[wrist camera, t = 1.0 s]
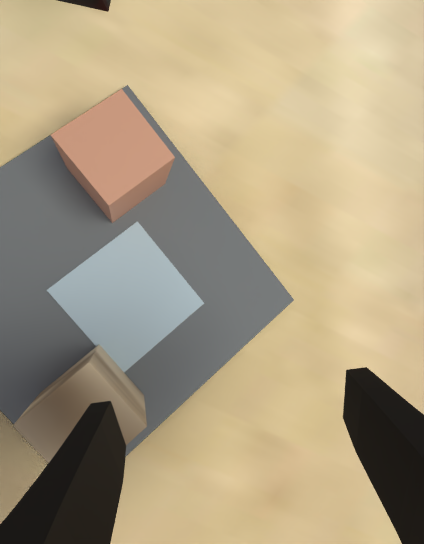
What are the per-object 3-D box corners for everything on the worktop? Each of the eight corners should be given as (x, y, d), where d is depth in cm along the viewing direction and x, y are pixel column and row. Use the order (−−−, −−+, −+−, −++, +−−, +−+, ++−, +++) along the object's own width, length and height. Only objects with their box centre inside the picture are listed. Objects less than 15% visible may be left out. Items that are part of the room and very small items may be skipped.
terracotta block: (112, 222, 21) (108, 205, 16) (66, 168, 20) (50, 134, 16) (165, 183, 21) (175, 157, 17) (122, 130, 21) (121, 88, 17)
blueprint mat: (83, 491, 20) (82, 497, 19) (-136, 260, 18) (-145, 259, 17) (290, 299, 24) (294, 299, 23) (127, 89, 22) (127, 84, 21)
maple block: (88, 444, 20) (75, 491, 15) (40, 392, 19) (12, 425, 15) (144, 395, 20) (146, 426, 16) (99, 344, 20) (89, 361, 16)
